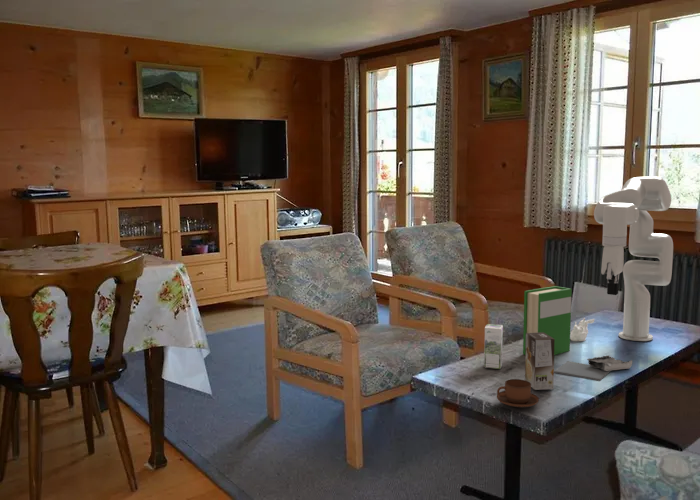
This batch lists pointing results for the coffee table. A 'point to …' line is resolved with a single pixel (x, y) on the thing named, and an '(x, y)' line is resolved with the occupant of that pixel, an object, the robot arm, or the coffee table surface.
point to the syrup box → (493, 346)
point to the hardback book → (549, 315)
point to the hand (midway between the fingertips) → (612, 294)
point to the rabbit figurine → (580, 330)
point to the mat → (581, 371)
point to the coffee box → (539, 360)
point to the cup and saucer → (517, 394)
